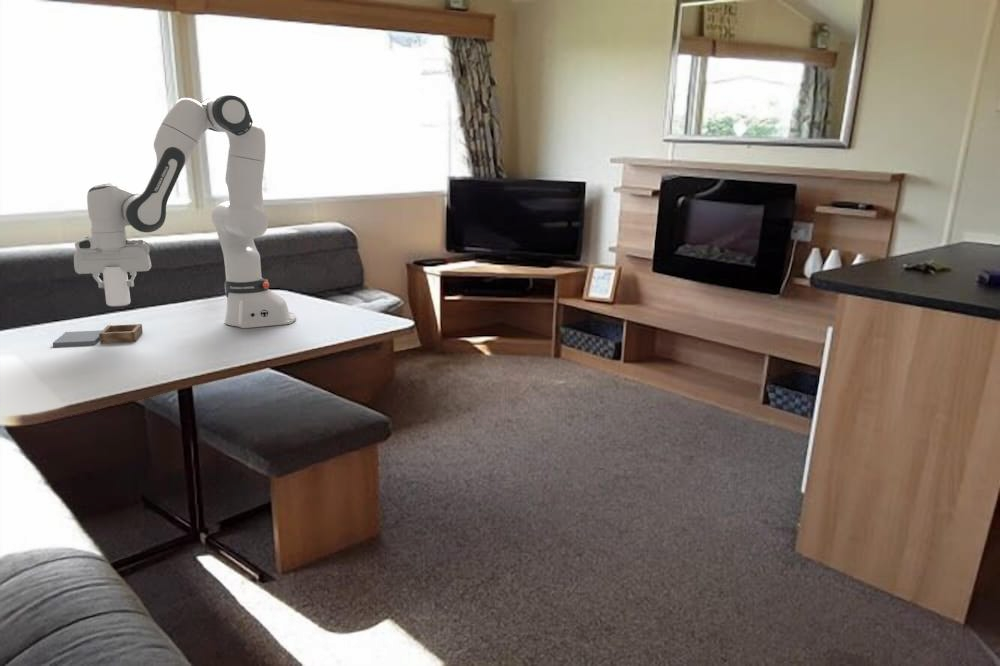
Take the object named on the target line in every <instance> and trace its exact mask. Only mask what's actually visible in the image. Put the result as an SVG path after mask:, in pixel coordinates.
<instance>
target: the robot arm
mask: <svg viewBox="0 0 1000 666" xmlns="http://www.w3.org/2000/svg"><path fill="white" fill-rule="evenodd" d="M207 130H210V131H213V132H218V133H225V134H226V135H227V137H228V146H229V148H228V153H227V161H226V162H227V163H226V171H225V183H226V186H227V189H228V201H223V202H221V203H218V204H217V205H216V206H215V207H213V209H212V211H211V222H212V223H213V225H214V228H215V230H216V232H217V236H218V241H219V244H220V247H221V251H222V255H223V260H224V273H225V280H224V292H225V293H224V294H225V297H226V312H225V318H224V324H225V325H228V326H233V327H238V328H241V329H249V328H260V327H271V326H282V325H290V324H292V323H294V322H296V314H295V313H294V312H292V311H289V307H288V305H287V302H286V300H285V299H284V298H283V297H282V296H280V295H278V294H276V293H275V292H273V291H272V290H271V289H269V288H270V283H269V280H268V279H267V278H263V277H262V265H261V264H262V263H261V255H260V253H259V251H258V249H257V246H256V244H255V241H254V239H257V238H261V237H262V236H263V235H264V234H265V233H266V232H267V230H268V228H269V227H268V226H269V220H268V216H267V215H266V213H265V209H264V208H265V207H264V200H263V199H264V198H263V179H264V170H265V163H266V161H265V160H266V135H265V131H264V130H263V128H262V127H260V126H259V125H257V124H255V123H253V118H252V117H251V114H250V111H249V107H248V105H247V103H246V102H245V100H243V98H241V97H240V96H239V95H236V94H233V93H220V94H219V93H218V94H216V95H214V96H211V97H209V98H207V99H205V100H203V101H201V102H199V101H198V100H196V99H193V98H189V97H183V98H180V99H178V100H177V101H176V103H174V104H173V106H172V107H171V108H170V109H169V111H168V113H167V114H166V116H165V117H164V118H163V120H162V122H161V124H160V125H159V128H158V130H157V133H156V134H155V139H154V141H153V149H154V151H155V156H156V164H155V165H156V166H155V168H154V170H153V173H152V175H151V177H150V179H149V181H148V183H147V186H146V187H145V189H144V191H143V192H142V193H141V194H140V193H135V192H132V191H129V190H127V189H126V188H125V189H124V188H122V187H121V186H118V185H116V184H115V183H103V184H99V185H95V186H93V187H91V188H90V189H89V190H88V191H87V195H86V201H87V212H88V217H89V220H90V223H91V228H90V232H91V235H89V236H86V237H84V238H81V239H79V240H77V241H75V243H74V247H75V249H76V250H75V252H74V255H73V267H74V268H73V269H74V271H75V273H76V274H78V275H83V274H85V275H86V274H87V275H88V274H92V278H93V279H94V280H95V281H96V282H97V284H98V285H97V286H98V288H99V289H105V288H104V280H102V279H101V278H100V277H99V276H101V274H103V271H104V269H105V266H120V268H121V269H122V270H123V272H127V273H129V276H131V278H130V279H128V281H127V284H128V285H127V286H128V287H129V288H130V287H131V288H133V287H134V286H135V282H134V280H135V278H136V276H137V274H138V273H137V272H148V271H150V269H151V268H152V261H151V257H150V251H151V250H150V243H148V242H147V241H145V240H143V239H127V234H126V233H127V232H126V227H128V226H131V227H132V228H133V229H134V230H136V231H138V232H140V233H152V232H155V231H157V230H159V229H161V227H162V226H163V225H164V223H165V221H166V218H167V217H166V216H167V204H168V200H169V198H170V196H171V193H172V191H173V190H174V187H175V185H176V183H177V181H178V179H179V176H180V174H181V172H182V170H183V169H184V167H185V165H186V164H187V162H188V160H190V158H191V157H192V154H193V153H194V151H195V150H196V149H197V145H198V144H199V141H200V140H201V137H202V136H203V134H204V133H205V132H206V131H207Z"/></svg>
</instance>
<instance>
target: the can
mask: <svg viewBox="0 0 1000 666" xmlns="http://www.w3.org/2000/svg"><path fill="white" fill-rule="evenodd" d="M128 276H129V275H128V272H123V270H122V269H121V268H120V266H105V269H104V271H103V273H102V277H103V280H102V281H104V288H103V289H104V295H105V302H106V305H107V306H108V307H114V308H115V307H124V306H128V305H130V304H131V293H130V287H128V286H127V285H128V284H127V281H128V280H129V277H128Z"/></svg>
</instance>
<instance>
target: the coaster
mask: <svg viewBox="0 0 1000 666" xmlns="http://www.w3.org/2000/svg"><path fill="white" fill-rule="evenodd" d="M102 330H103V329H102ZM102 330H101V329H100V330H81V331H65V332H64V333H63V334H62V335H61V336H59V337H58V338H57V339H55V340H54V341H53V342H52V347H53V348H56V347H57V348H59V347H76V346H95V345H97V344H98V343H99V342H100V336H99V333H100V332H101V331H102Z"/></svg>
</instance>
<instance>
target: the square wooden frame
mask: <svg viewBox="0 0 1000 666" xmlns="http://www.w3.org/2000/svg"><path fill="white" fill-rule="evenodd" d="M142 333H143V324H142V323H135V324H134V323H133V324H112V325H111V324H108V325H106V327H104V328H103V329H102V331H101V332H100V333H99V336H100V340H99V342H100V344H111V343H112V344H117V343H118V342H120V343H135V342H137V341H138V340H139V339H140V337H141V336H142V335H143V334H144V333H143V334H142Z"/></svg>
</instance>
